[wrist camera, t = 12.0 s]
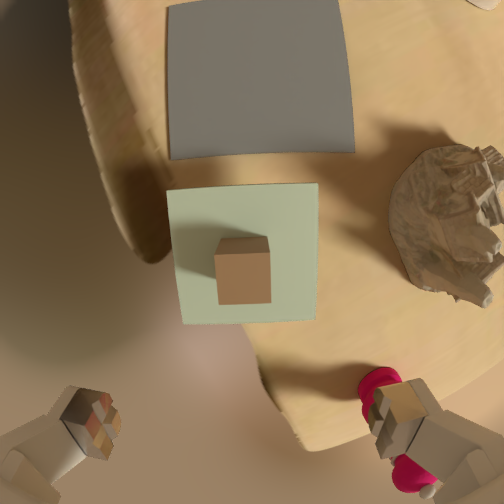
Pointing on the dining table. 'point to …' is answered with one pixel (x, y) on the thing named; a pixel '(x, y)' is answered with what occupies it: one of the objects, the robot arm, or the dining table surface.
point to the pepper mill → (406, 470)
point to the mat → (258, 78)
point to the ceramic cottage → (450, 220)
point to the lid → (245, 252)
